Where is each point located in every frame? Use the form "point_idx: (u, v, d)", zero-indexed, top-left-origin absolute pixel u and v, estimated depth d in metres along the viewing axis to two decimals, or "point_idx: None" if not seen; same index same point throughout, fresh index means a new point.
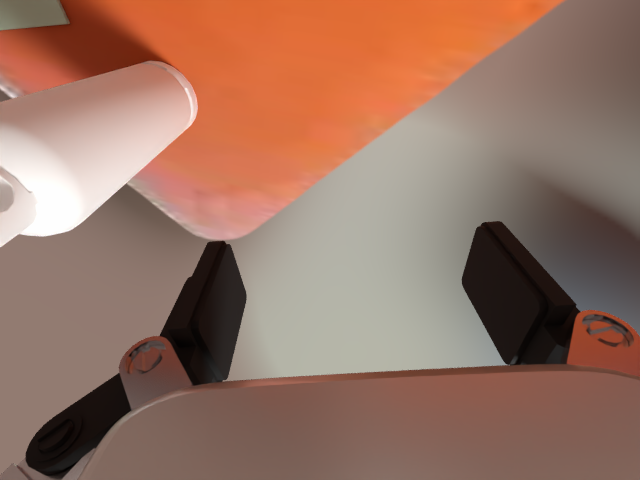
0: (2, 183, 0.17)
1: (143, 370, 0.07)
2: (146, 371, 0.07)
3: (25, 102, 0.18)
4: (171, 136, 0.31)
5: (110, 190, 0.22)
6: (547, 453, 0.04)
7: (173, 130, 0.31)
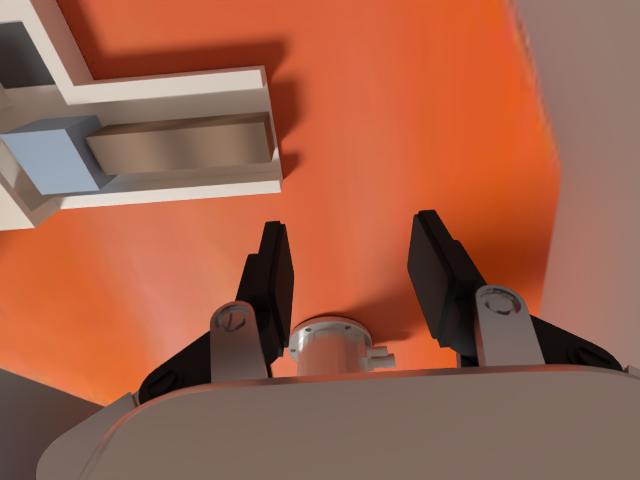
0: None
1: (228, 328, 0.08)
2: (230, 330, 0.08)
3: None
4: None
5: None
6: (547, 453, 0.04)
7: None
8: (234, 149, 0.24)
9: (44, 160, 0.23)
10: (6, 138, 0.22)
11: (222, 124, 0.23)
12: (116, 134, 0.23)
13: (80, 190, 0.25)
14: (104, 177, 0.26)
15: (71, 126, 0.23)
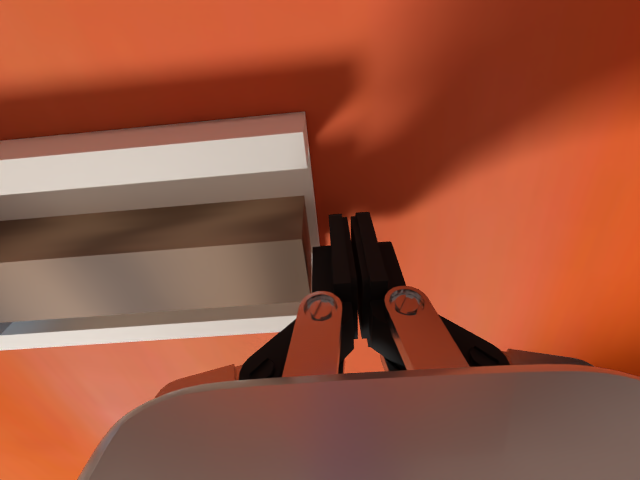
0: None
1: (313, 316, 0.08)
2: (315, 318, 0.08)
3: None
4: None
5: None
6: (547, 453, 0.04)
7: None
8: (237, 283, 0.12)
9: None
10: None
11: (212, 240, 0.11)
12: None
13: None
14: None
15: None
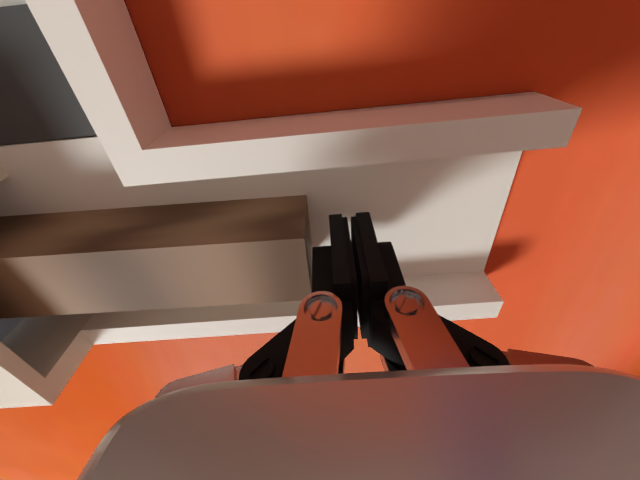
0: None
1: (313, 316, 0.08)
2: (315, 318, 0.08)
3: None
4: None
5: None
6: (547, 453, 0.04)
7: None
8: (239, 282, 0.12)
9: None
10: None
11: (215, 238, 0.11)
12: None
13: None
14: (5, 319, 0.14)
15: None
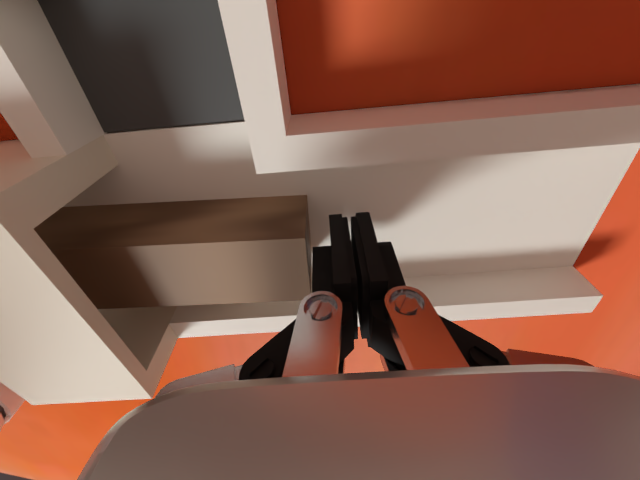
0: None
1: (314, 316, 0.08)
2: (315, 318, 0.08)
3: None
4: None
5: None
6: (547, 453, 0.04)
7: None
8: (238, 281, 0.12)
9: None
10: None
11: (215, 236, 0.11)
12: None
13: None
14: None
15: None
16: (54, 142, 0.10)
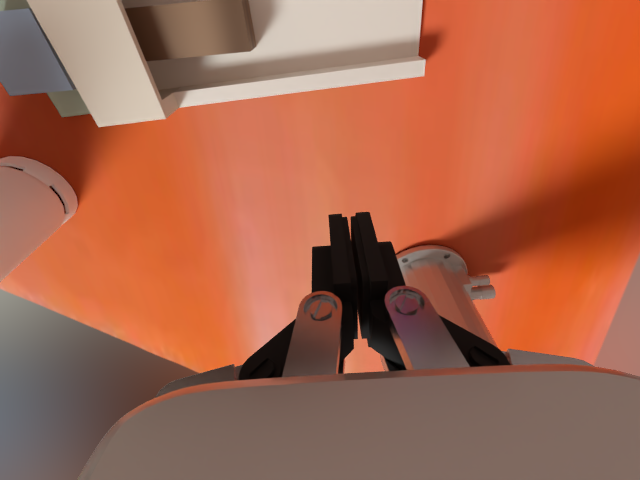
0: None
1: (313, 316, 0.08)
2: (315, 318, 0.08)
3: None
4: None
5: None
6: (547, 453, 0.04)
7: None
8: (209, 34, 0.22)
9: (9, 50, 0.21)
10: None
11: (195, 1, 0.21)
12: None
13: (52, 90, 0.23)
14: None
15: None
16: None
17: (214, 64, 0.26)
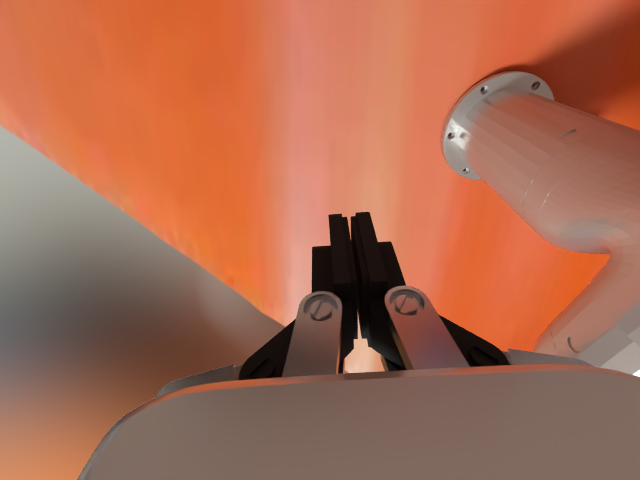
0: None
1: (313, 316, 0.08)
2: (315, 318, 0.08)
3: None
4: None
5: None
6: (547, 453, 0.04)
7: None
8: None
9: None
10: None
11: None
12: None
13: None
14: None
15: None
16: None
17: None
